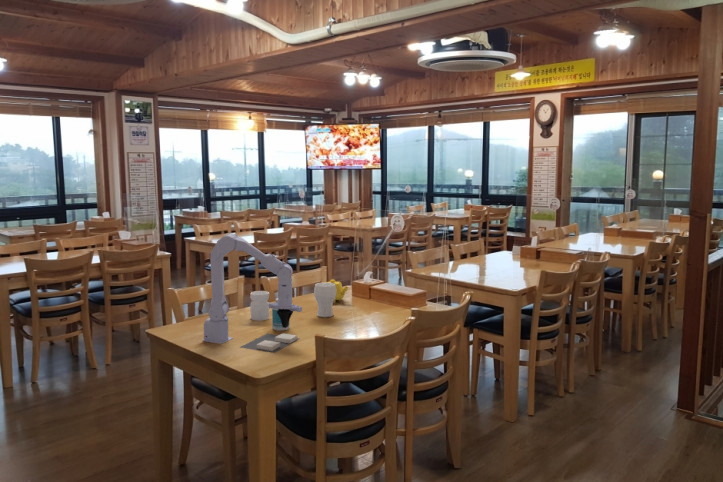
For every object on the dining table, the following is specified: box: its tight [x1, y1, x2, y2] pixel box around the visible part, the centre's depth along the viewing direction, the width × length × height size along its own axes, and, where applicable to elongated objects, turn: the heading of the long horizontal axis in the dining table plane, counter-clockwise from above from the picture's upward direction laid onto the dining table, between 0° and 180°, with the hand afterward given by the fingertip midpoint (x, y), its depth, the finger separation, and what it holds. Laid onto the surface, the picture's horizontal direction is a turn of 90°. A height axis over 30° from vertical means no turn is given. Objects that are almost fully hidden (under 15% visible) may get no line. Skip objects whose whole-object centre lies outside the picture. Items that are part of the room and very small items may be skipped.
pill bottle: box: [271, 297, 290, 332], centre depth 252 cm, size 8×7×14 cm
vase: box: [249, 290, 270, 321], centre depth 269 cm, size 9×9×12 cm
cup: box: [313, 281, 336, 318], centre depth 276 cm, size 11×11×15 cm
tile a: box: [257, 340, 280, 351], centre depth 227 cm, size 2×6×7 cm
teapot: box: [327, 279, 349, 304], centre depth 305 cm, size 14×14×11 cm
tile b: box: [275, 333, 298, 343], centre depth 236 cm, size 2×6×7 cm
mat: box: [240, 333, 301, 354], centre depth 233 cm, size 16×20×1 cm
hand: (285, 327), depth 235 cm, fingers closed
